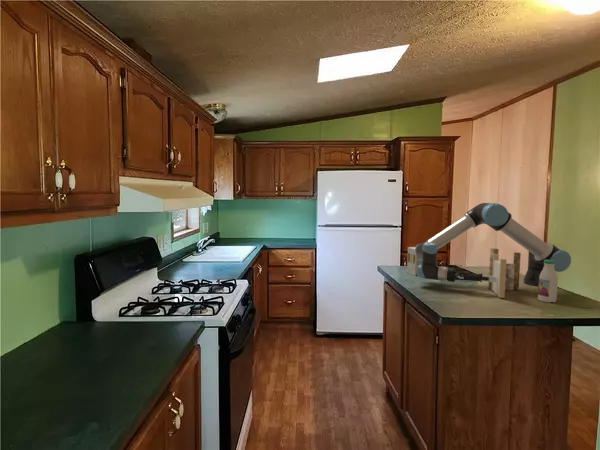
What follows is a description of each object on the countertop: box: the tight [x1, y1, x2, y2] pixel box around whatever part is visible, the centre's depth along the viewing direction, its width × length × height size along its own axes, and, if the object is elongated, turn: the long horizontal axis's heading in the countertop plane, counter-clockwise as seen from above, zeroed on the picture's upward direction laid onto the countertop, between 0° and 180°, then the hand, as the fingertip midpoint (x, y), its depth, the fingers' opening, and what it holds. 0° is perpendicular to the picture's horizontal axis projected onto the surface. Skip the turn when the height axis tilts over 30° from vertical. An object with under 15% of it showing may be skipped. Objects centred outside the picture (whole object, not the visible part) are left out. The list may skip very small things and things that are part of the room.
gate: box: [491, 253, 509, 299], centre depth 204 cm, size 18×4×19 cm, turn 166°
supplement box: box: [406, 246, 422, 277], centre depth 256 cm, size 10×9×17 cm
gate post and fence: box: [488, 248, 521, 291], centre depth 216 cm, size 16×4×22 cm, turn 91°
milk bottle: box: [537, 260, 559, 303], centre depth 194 cm, size 8×8×20 cm
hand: (496, 279), depth 203 cm, fingers closed
